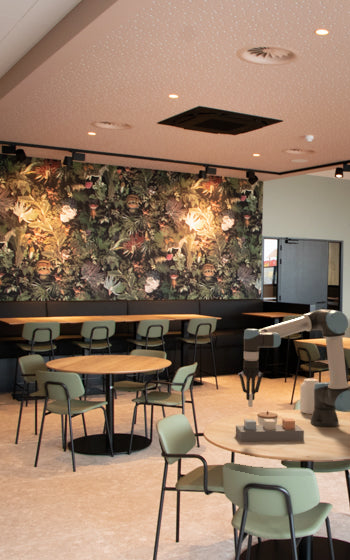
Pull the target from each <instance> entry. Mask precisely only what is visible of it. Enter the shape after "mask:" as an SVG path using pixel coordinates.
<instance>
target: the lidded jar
mask: <svg viewBox="0 0 350 560" xmlns="http://www.w3.org/2000/svg"><path fill="white" fill-rule="evenodd" d="M278 417H279V416H278V413H275V412H270V411H268V410H267V411H261V412H258V413H257V423H258V425H263V419H274V420H275V421H276V425H278V424H277V423H278Z"/></svg>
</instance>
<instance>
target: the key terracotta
mask: <svg viewBox="0 0 350 560" xmlns="http://www.w3.org/2000/svg"><path fill="white" fill-rule="evenodd" d="M281 422H282V423H281V425H282V428H284V429H295V425H296V420H294V418H282V421H281Z"/></svg>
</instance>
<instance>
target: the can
mask: <svg viewBox="0 0 350 560" xmlns="http://www.w3.org/2000/svg"><path fill="white" fill-rule="evenodd" d="M316 383H319V380H318V379H317V378H311V377H310V378H304V379H303V382H302V383H301V384H300V396H299V397H300V398H299V399H300V403H299V404H300V405H299V408H300V409H299V411H300V412H301V413H303V414H308V415H312V414H313V411H314V386H315V384H316Z"/></svg>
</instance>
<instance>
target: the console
mask: <svg viewBox="0 0 350 560" xmlns="http://www.w3.org/2000/svg"><path fill="white" fill-rule="evenodd" d="M235 436H236V438H237V439H238V440H239V441H240V443H253V442H255V443H257V442H259V443H260V442H261V443H262V442H302V441H303V442H304V441H305V430H304V429H303V428H301V427H300V426H299V425H298V424H295V429H284V428H282V424H276V430H265V429H264V428H263V425H259V424H258V425H257V424H256V430H245V429H244V425H235Z"/></svg>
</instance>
